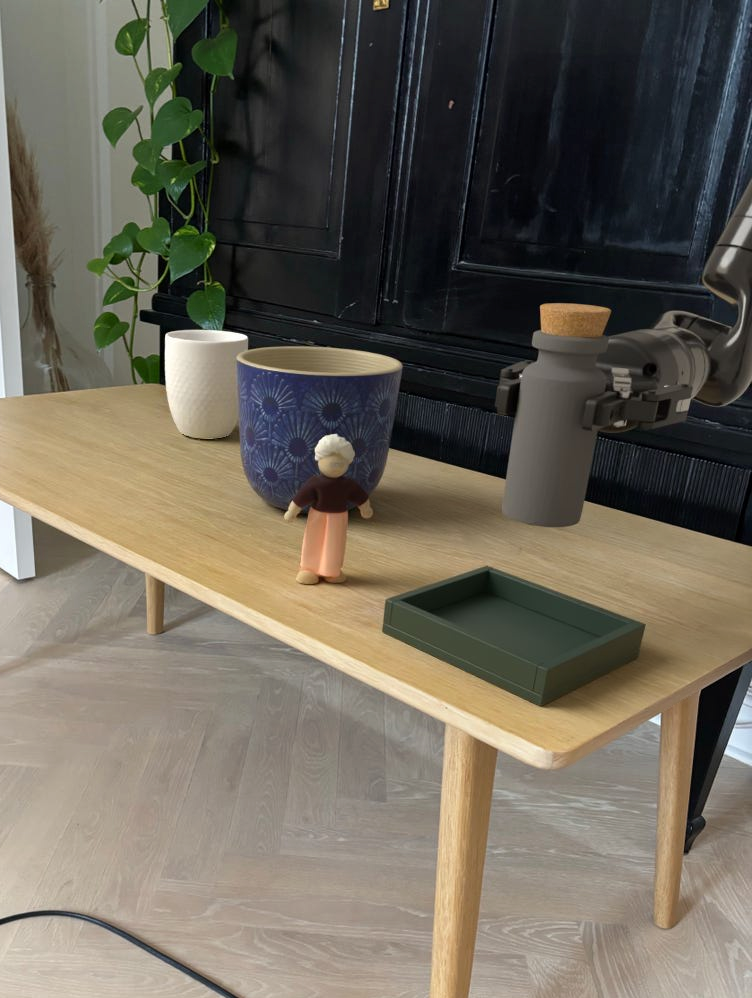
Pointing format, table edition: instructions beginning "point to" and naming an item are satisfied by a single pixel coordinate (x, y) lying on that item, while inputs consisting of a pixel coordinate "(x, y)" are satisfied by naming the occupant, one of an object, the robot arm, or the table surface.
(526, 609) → the tray
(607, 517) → the table surface
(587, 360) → the bottle
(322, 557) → the grandmother figurine
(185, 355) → the mug
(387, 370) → the planter
